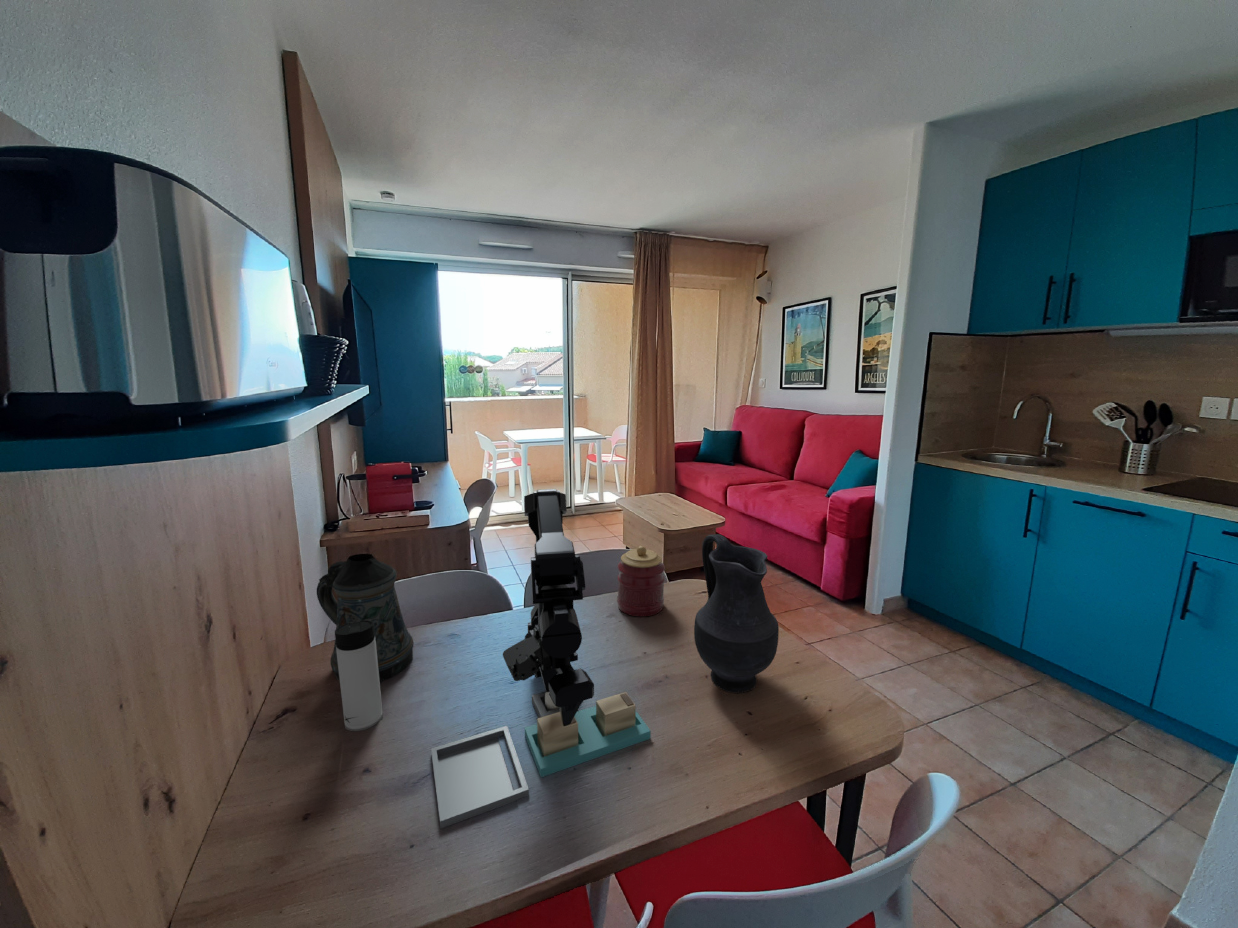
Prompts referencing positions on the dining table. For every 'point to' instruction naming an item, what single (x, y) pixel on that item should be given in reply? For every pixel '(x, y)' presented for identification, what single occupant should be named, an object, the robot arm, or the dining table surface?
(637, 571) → the canister
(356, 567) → the beer stein
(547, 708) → the button
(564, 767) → the teal block holder tray
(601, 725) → the block
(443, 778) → the grey tray
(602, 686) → the dining table surface
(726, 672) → the pitcher
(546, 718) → the block
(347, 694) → the travel mug
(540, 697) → the button housing
